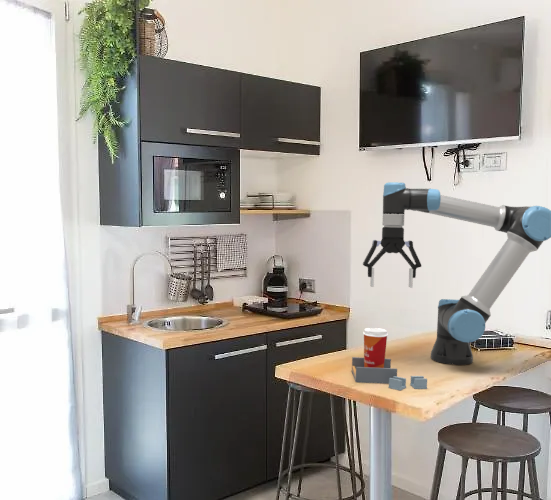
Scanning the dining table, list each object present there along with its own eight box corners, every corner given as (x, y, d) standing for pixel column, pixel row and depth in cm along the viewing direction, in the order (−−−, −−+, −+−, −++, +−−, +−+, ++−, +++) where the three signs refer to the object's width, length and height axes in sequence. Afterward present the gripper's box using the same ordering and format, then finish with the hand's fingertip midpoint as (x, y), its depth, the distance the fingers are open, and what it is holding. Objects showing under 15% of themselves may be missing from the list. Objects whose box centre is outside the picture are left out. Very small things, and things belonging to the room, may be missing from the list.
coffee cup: (358, 371, 203) (360, 327, 202) (382, 371, 204) (384, 327, 203) (364, 378, 195) (366, 332, 194) (389, 378, 196) (391, 332, 195)
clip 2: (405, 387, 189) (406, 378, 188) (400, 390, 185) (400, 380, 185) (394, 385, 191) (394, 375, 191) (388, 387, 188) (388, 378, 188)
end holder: (389, 372, 206) (390, 358, 206) (396, 384, 192) (397, 369, 192) (351, 371, 206) (352, 357, 206) (355, 382, 193) (356, 367, 193)
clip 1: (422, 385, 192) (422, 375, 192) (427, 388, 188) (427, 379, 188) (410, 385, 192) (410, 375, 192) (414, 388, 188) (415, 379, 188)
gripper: (426, 227, 216) (423, 286, 217) (356, 225, 216) (354, 284, 217) (431, 227, 208) (429, 288, 210) (359, 226, 208) (357, 287, 210)
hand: (391, 286), depth 213 cm, fingers open, 13 cm apart
